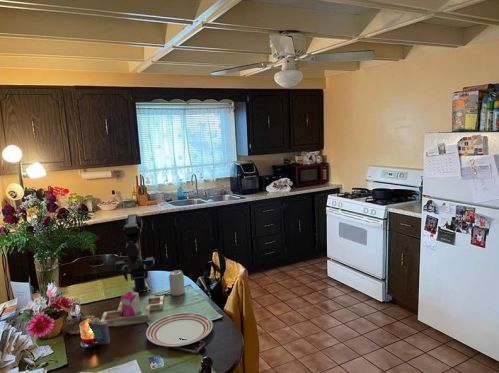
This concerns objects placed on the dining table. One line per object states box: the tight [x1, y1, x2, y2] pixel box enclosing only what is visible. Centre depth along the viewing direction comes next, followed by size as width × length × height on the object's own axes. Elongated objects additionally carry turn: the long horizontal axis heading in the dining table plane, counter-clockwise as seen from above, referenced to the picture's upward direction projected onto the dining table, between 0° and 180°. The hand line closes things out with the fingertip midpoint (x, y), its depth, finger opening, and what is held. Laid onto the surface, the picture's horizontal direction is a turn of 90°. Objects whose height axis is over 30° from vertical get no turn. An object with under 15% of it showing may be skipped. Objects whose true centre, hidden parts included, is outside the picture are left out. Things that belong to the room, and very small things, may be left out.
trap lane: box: [99, 295, 165, 327], centre depth 179 cm, size 22×27×3 cm
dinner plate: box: [145, 312, 214, 348], centre depth 157 cm, size 27×27×3 cm
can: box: [168, 269, 186, 297], centre depth 197 cm, size 8×8×12 cm
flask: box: [87, 317, 111, 346], centre depth 154 cm, size 9×3×11 cm, turn 74°
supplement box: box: [120, 291, 142, 317], centre depth 173 cm, size 6×6×12 cm
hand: (136, 279), depth 189 cm, fingers open, 9 cm apart
